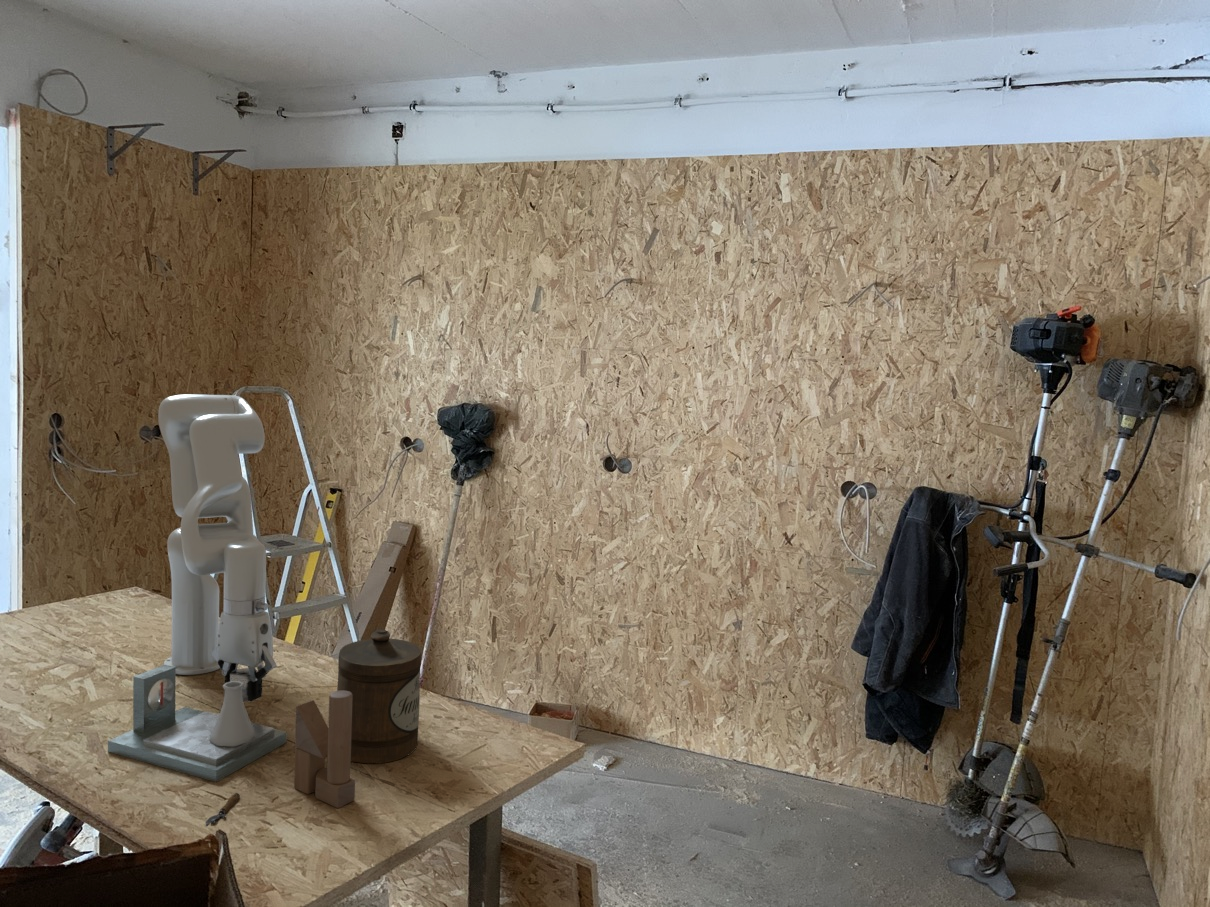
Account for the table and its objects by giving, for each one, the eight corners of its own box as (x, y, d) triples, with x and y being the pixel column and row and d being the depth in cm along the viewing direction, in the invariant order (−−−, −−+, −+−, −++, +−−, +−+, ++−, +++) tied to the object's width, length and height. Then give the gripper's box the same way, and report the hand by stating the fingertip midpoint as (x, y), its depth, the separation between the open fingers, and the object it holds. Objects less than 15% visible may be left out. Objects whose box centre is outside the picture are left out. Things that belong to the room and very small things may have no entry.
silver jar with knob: (223, 699, 173) (224, 674, 172) (242, 690, 178) (242, 666, 177) (244, 704, 171) (244, 678, 171) (262, 695, 176) (263, 670, 175)
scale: (184, 716, 171) (185, 656, 170) (286, 742, 163) (287, 679, 162) (107, 751, 156) (107, 685, 154) (216, 782, 147) (217, 712, 146)
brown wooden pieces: (311, 780, 150) (313, 677, 148) (355, 800, 144) (358, 693, 142) (292, 788, 147) (295, 683, 145) (337, 809, 141) (340, 700, 139)
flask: (234, 751, 152) (235, 694, 151) (200, 743, 154) (201, 687, 153) (263, 735, 159) (264, 680, 158) (230, 727, 161) (231, 674, 160)
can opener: (233, 798, 143) (234, 791, 143) (247, 800, 143) (247, 793, 143) (200, 827, 134) (200, 820, 134) (215, 829, 134) (215, 822, 134)
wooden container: (415, 763, 158) (420, 643, 156) (329, 765, 156) (332, 643, 153) (419, 728, 173) (423, 618, 170) (340, 729, 170) (343, 617, 168)
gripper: (293, 607, 173) (291, 697, 175) (224, 594, 179) (223, 682, 181) (266, 616, 166) (264, 711, 168) (195, 603, 172) (194, 695, 174)
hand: (243, 695), depth 174 cm, fingers closed on silver jar with knob, 5 cm apart
